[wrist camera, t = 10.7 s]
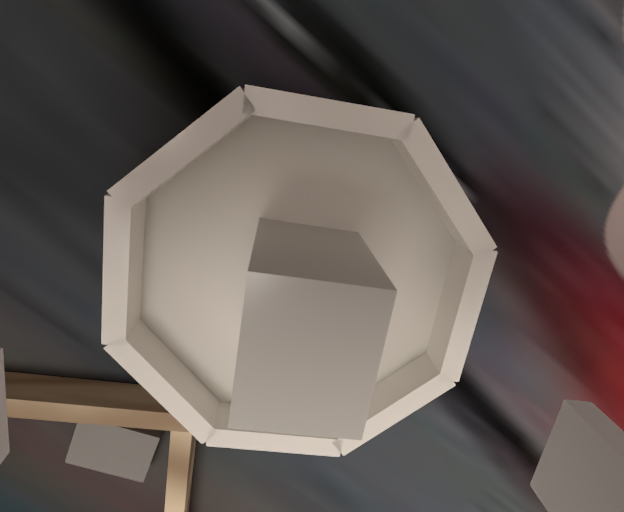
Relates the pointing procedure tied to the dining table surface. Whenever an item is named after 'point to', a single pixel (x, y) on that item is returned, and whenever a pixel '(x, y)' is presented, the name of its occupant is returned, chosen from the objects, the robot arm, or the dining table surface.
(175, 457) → the wooden frame
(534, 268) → the dining table surface
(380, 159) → the bowl
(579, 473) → the robot arm
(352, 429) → the pale grey block
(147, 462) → the grey rectangular block
